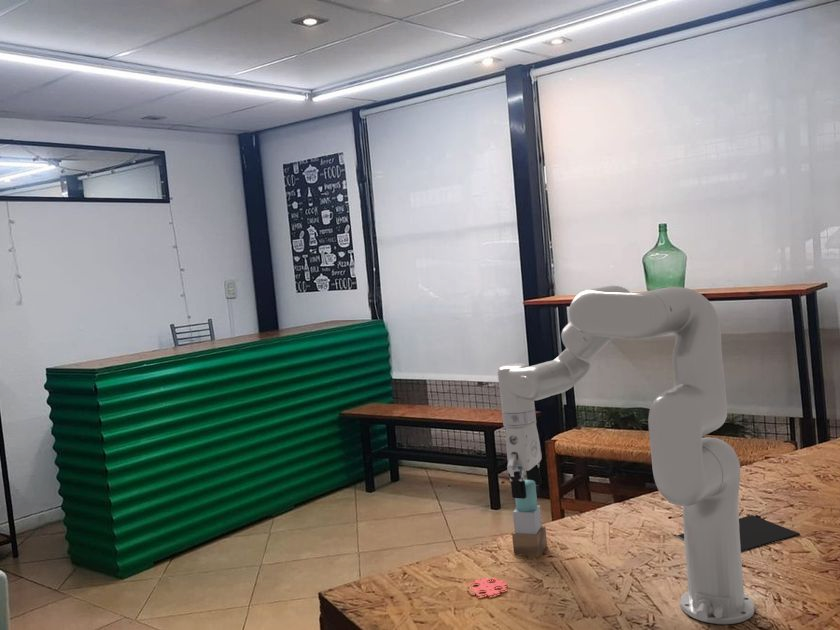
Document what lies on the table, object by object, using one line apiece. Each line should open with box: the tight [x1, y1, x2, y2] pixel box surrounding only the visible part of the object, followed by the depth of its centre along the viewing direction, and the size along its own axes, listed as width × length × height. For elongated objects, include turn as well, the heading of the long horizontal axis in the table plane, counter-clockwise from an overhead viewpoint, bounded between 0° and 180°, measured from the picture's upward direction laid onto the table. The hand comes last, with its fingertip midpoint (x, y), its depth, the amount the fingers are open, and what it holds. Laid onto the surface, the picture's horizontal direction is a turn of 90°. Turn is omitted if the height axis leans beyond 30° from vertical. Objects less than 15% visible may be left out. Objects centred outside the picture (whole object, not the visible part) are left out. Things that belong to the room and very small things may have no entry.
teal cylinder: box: [514, 479, 538, 512], centre depth 166 cm, size 5×5×6 cm
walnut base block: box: [511, 525, 548, 558], centre depth 167 cm, size 6×6×5 cm
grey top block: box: [512, 504, 543, 535], centre depth 167 cm, size 5×5×5 cm
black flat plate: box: [674, 514, 801, 553], centre depth 164 cm, size 23×1×15 cm
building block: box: [467, 576, 508, 598], centre depth 150 cm, size 1×8×8 cm
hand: (527, 491), depth 166 cm, fingers open, 9 cm apart
